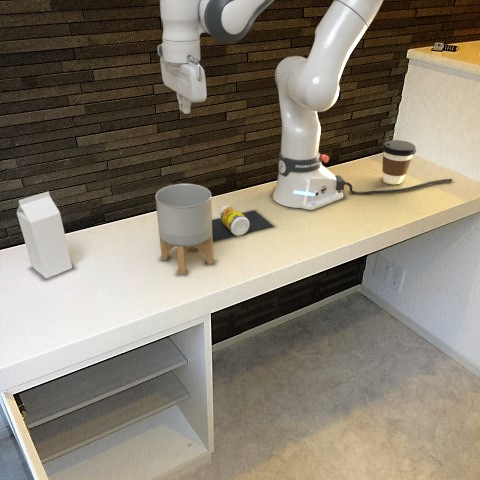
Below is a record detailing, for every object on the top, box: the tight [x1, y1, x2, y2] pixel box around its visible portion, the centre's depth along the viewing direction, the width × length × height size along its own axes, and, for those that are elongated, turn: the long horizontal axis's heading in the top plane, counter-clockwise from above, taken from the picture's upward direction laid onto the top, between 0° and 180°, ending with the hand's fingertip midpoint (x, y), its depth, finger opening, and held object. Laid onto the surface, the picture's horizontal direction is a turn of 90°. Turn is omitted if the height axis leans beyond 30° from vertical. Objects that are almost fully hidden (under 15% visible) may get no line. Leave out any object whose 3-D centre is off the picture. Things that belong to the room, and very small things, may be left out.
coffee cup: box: [381, 139, 417, 185], centre depth 165 cm, size 11×11×12 cm
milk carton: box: [16, 191, 73, 280], centre depth 117 cm, size 7×7×19 cm
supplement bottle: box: [219, 204, 249, 237], centre depth 138 cm, size 6×6×10 cm
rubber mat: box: [212, 210, 274, 242], centre depth 142 cm, size 20×11×1 cm, turn 118°
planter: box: [154, 183, 214, 275], centre depth 121 cm, size 13×13×18 cm
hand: (185, 112), depth 129 cm, fingers closed
